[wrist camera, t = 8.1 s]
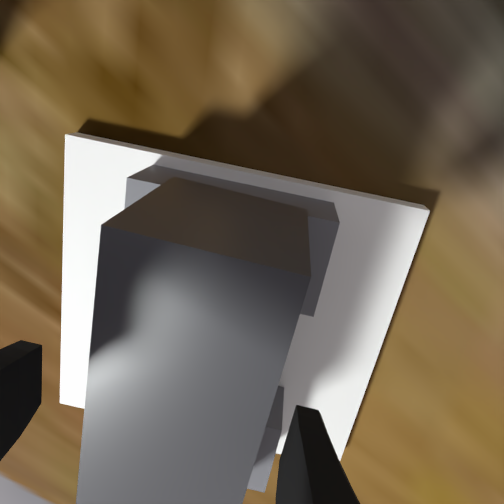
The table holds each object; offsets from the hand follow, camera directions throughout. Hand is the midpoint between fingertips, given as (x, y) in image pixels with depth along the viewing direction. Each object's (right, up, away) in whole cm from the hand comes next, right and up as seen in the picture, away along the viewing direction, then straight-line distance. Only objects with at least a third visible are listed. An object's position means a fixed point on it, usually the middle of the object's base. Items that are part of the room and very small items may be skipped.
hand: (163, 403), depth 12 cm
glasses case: (+1, 0, +6) cm, 6 cm away
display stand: (+1, +1, +10) cm, 10 cm away
